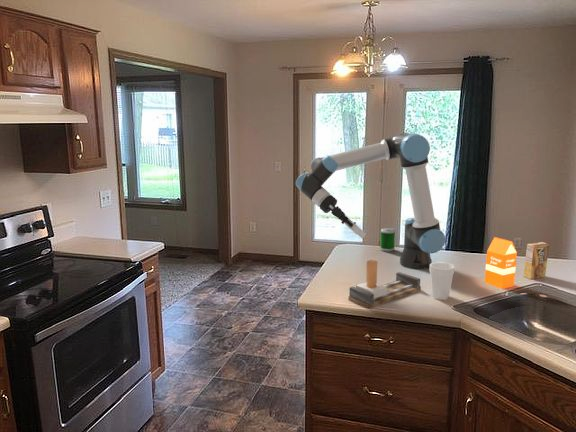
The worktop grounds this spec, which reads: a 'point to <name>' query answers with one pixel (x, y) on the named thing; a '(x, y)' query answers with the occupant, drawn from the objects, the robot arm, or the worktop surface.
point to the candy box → (536, 260)
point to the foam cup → (441, 279)
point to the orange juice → (500, 263)
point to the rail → (394, 290)
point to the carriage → (372, 281)
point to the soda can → (387, 239)
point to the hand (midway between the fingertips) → (361, 234)
